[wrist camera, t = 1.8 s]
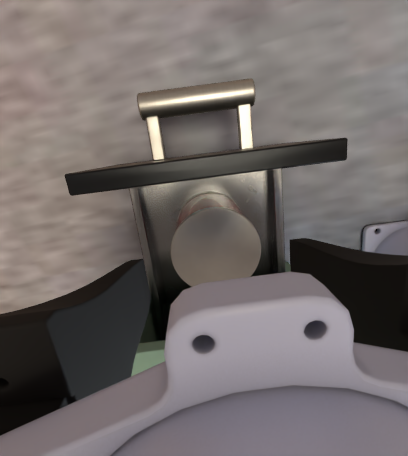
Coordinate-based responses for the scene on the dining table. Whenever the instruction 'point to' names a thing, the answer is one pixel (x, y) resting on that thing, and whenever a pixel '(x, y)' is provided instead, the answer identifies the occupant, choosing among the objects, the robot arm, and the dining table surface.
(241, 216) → the can
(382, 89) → the dining table surface
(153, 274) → the open drawer with handle
